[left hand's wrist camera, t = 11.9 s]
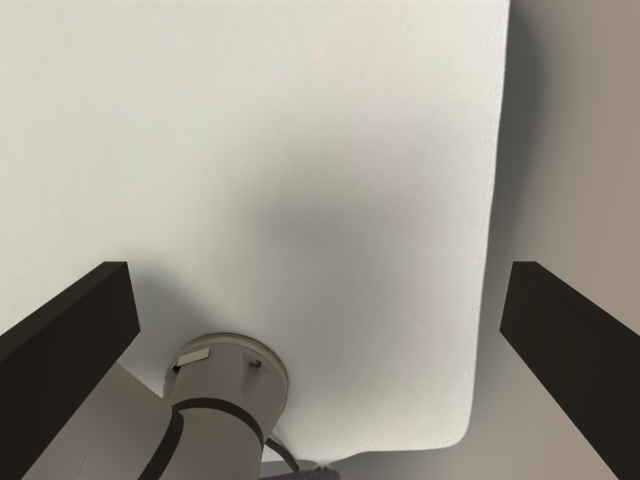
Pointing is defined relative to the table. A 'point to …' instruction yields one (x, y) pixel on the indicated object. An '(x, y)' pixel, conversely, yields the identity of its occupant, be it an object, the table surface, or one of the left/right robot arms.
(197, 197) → the table surface
